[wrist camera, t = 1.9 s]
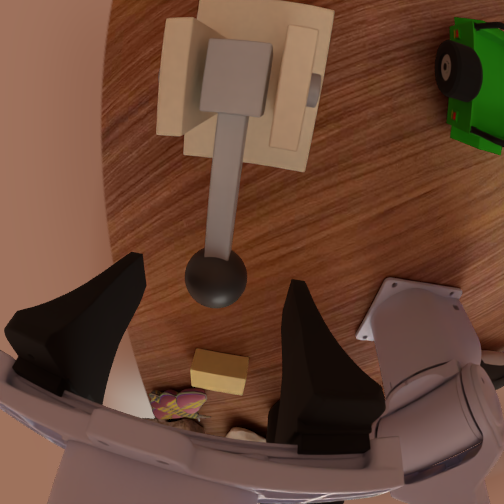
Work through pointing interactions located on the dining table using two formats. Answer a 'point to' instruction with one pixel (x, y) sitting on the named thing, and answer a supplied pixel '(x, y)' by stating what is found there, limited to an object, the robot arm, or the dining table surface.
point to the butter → (219, 371)
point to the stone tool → (244, 435)
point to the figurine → (493, 366)
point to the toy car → (474, 82)
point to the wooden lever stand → (280, 84)
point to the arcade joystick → (227, 162)
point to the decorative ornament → (178, 403)
